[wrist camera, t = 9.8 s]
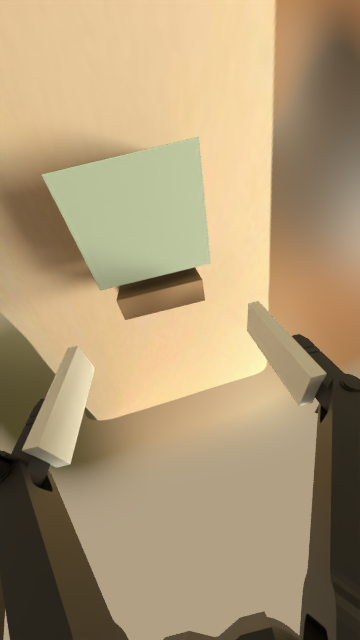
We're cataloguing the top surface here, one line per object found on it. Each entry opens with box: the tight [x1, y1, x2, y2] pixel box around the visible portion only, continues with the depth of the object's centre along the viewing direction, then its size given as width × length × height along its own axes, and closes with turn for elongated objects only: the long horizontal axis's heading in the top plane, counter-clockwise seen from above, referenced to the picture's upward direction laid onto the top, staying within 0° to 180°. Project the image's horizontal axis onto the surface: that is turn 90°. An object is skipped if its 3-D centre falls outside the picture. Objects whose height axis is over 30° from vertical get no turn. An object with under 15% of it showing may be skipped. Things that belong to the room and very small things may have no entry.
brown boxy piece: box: [117, 267, 205, 320], centre depth 24 cm, size 4×9×11 cm, turn 101°
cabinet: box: [41, 137, 211, 290], centre depth 22 cm, size 15×12×11 cm
